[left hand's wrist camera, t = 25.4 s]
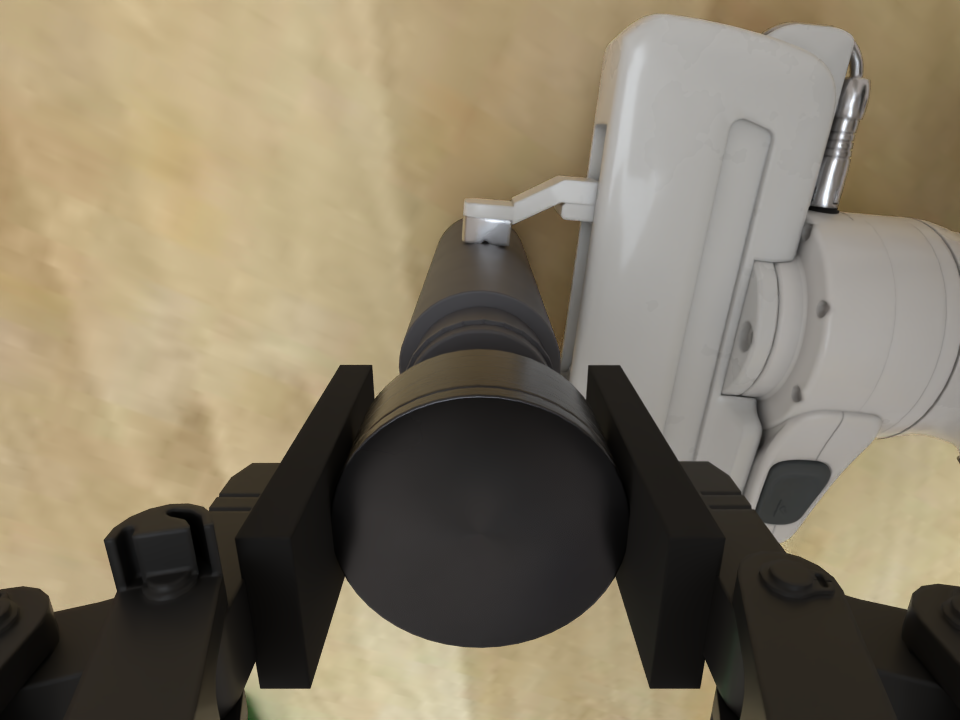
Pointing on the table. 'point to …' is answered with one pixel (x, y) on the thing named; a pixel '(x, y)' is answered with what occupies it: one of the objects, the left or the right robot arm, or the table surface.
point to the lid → (480, 502)
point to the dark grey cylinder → (479, 304)
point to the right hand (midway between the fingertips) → (457, 295)
